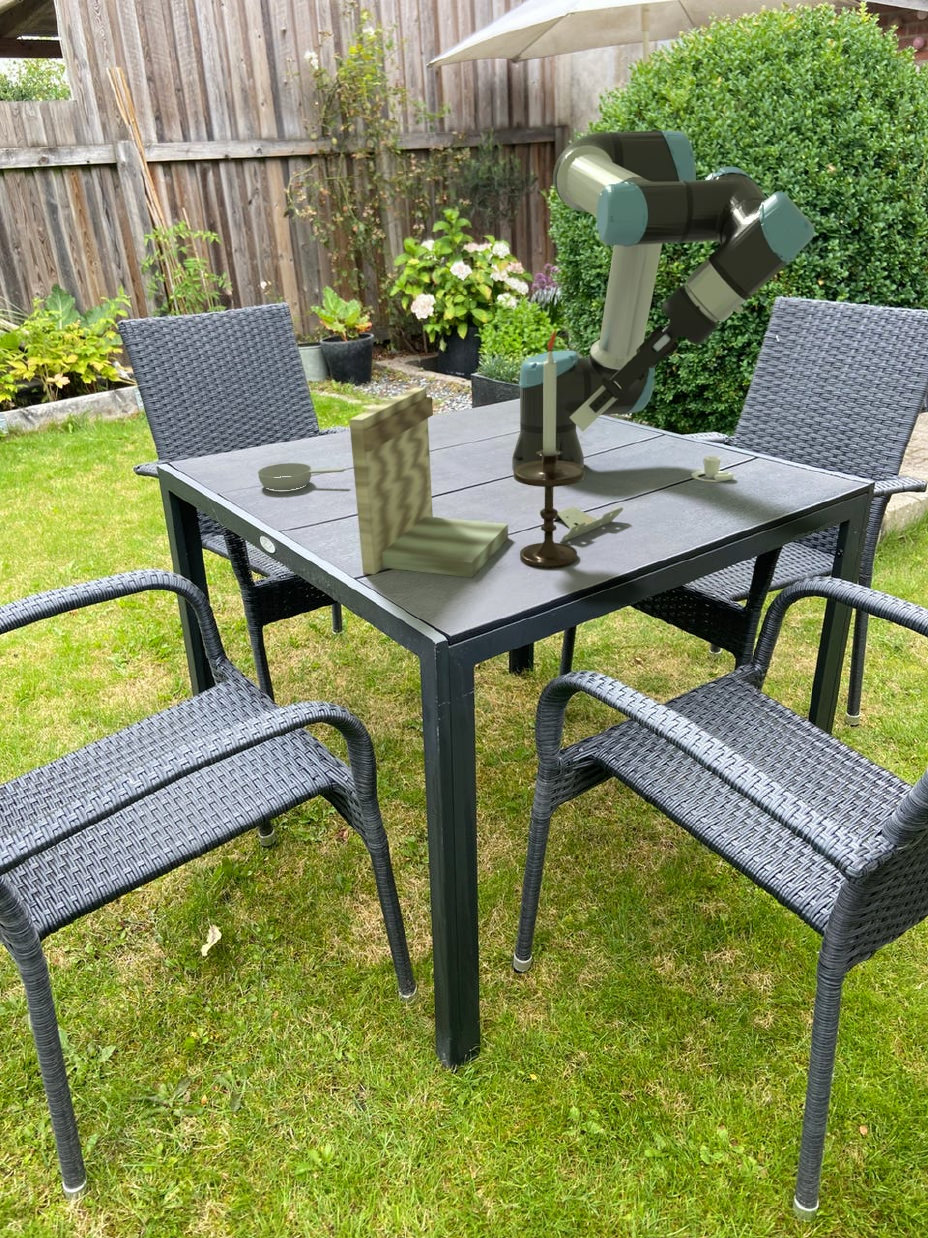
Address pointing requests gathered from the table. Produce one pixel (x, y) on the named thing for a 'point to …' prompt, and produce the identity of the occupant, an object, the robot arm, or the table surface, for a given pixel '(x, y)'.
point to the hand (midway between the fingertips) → (587, 413)
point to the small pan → (295, 470)
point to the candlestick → (549, 479)
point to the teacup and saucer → (712, 470)
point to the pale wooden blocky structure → (409, 496)
